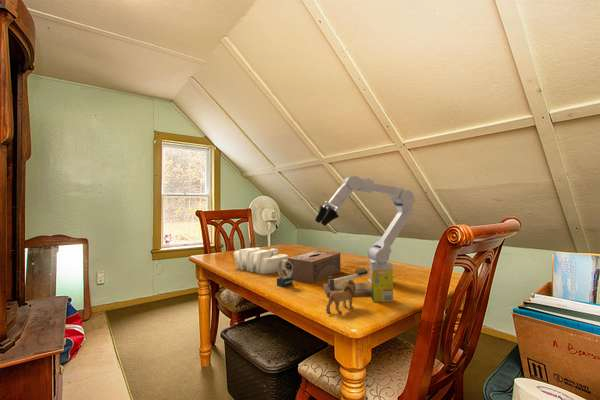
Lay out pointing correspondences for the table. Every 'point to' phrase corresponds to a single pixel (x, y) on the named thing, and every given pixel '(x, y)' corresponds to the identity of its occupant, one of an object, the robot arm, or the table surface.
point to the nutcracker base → (360, 289)
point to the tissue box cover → (315, 265)
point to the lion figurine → (342, 296)
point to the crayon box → (382, 286)
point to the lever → (358, 274)
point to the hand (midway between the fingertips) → (319, 223)
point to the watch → (283, 280)
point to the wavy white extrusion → (258, 260)
